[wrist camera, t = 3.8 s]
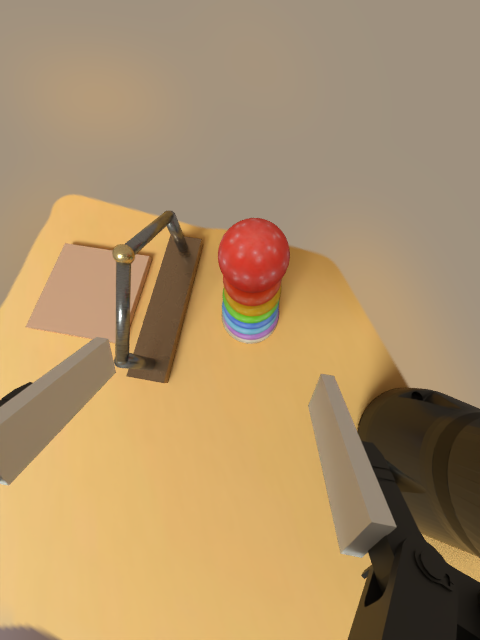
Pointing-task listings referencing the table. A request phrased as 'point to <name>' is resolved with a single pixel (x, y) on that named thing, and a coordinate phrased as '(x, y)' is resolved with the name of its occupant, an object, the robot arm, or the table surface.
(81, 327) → the terracotta pad
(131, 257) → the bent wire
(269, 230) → the stacking toy
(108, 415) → the table surface
